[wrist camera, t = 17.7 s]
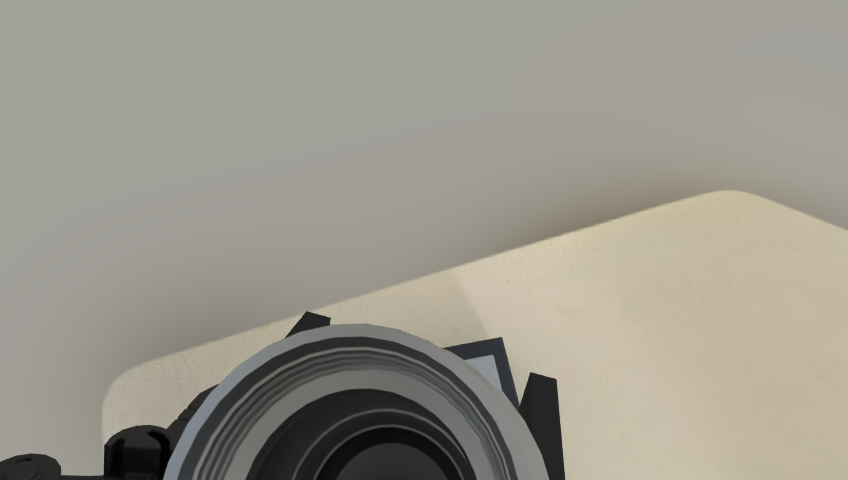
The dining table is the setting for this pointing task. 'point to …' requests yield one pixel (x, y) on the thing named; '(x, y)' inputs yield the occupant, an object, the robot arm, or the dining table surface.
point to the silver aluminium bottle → (356, 415)
